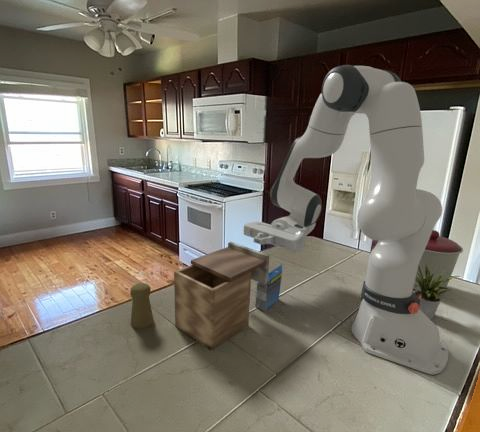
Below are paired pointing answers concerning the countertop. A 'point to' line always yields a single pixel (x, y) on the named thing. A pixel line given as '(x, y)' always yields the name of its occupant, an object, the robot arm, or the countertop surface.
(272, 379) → the countertop surface
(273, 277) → the label tape box
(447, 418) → the countertop surface
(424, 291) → the house plant
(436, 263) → the canister
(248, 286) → the storage box
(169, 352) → the countertop surface
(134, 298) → the cork
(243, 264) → the sliding lid
